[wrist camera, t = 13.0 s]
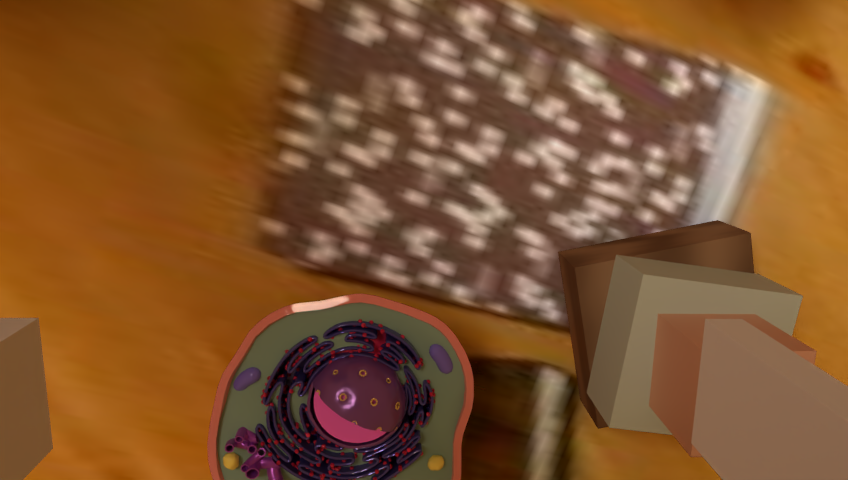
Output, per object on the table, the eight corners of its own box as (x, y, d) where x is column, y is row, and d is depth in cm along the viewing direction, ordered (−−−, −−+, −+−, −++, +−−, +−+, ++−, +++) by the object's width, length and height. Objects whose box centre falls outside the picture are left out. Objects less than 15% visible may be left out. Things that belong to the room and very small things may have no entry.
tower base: (578, 397, 52) (598, 428, 47) (556, 250, 49) (574, 267, 44) (729, 367, 52) (764, 395, 47) (715, 219, 49) (750, 232, 44)
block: (648, 405, 41) (690, 457, 35) (657, 313, 40) (702, 351, 34) (743, 405, 42) (800, 456, 36) (755, 314, 40) (816, 351, 34)
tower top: (586, 392, 46) (609, 427, 41) (615, 254, 44) (643, 274, 39) (723, 409, 47) (761, 445, 42) (758, 274, 45) (802, 295, 40)
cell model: (189, 445, 51) (132, 543, 40) (307, 219, 48) (281, 256, 36) (384, 534, 53) (383, 648, 42) (510, 324, 50) (543, 389, 39)
